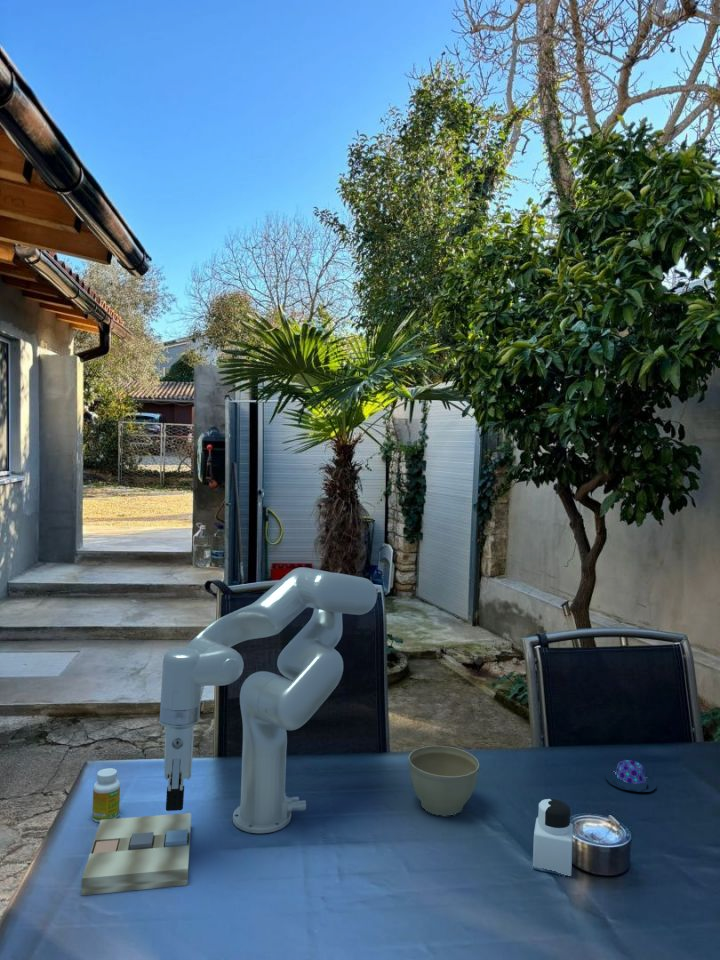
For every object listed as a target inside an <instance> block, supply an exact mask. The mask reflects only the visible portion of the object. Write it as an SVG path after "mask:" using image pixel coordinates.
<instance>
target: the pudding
mask: <svg viewBox="0 0 720 960" xmlns="http://www.w3.org/2000/svg"><path fill="white" fill-rule="evenodd" d="M615 771H616V772H615ZM615 771H614V772H615V775H617V778H618V779H620V780H623V781H624V782H626V783H633V784H640V783H645V782H646V778H647V776H646V773H645V768H644V766H643V764H640V763H639V762H638V761H633V760H631V759H627V760H626V759H623V760H621V761H619V762H618V764H617V766H616V769H615Z"/></svg>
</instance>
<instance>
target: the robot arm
mask: <svg viewBox="0 0 720 960" xmlns="http://www.w3.org/2000/svg"><path fill="white" fill-rule="evenodd" d="M377 598H378V593H377V588H376V586H375V585H374V583H373V582H372V581H371V580H370V579H368V578H366V577H361V576H356V575H351V574H345V573H340V572H330V571H327V570H326V571H325V570H321V569H315V568H310V567H303V566H302V567H297V568H294V569H292V570H291V571H289V572H288V573H286V574H285V576H283V577H282V578H281V579H280V580H279V581H278V582H277V583H275V584H274V585H273V586H272V587H271V588H269V589H268V590H267V591H266V592H264V593H263V594H262V595H261V596H260V597H259V598H258V599H256V600H255V601H254V602H253V603H251V604H249V605H246V606H244V607H241V608H239V609H237V610H234V611H232V612H230V613H228V614H225V615H224V616H222V617H220V618H218V619H216V620H214V621H213V622H211V623H210V624H209V625H208V626H207V627H205V628H204V629H203V630H202V631H200V632H199V633H198V634H197V635H196V636H194V638H193V639H192V640H191V641H190V642H189V644H188V645H187V646H186V647H177V648H173V649H170V650H168V651H166V653H165V654H164V655H163V659H162V671H161V673H162V675H161V676H162V677H161V691H160V692H161V693H160V706H159V707H160V708H159V724H160V725H161V726H162V727H165V731H164V732H165V733H164V735H165V736H164V755H163V756H164V757H163V758H164V759H163V760H164V762H163V763H164V766H163V767H164V779H165V780H166V781H168V782H167V783H168V784H167V787H166V797H165V798H166V799H165V800H166V801H165V810H166V811H167V812H172V811H174V812H175V811H182V810H183V809H184V801H185V800H184V798H185V795H184V794H185V785H184V779H187V780H188V781H189V780H190V779H191V778H192V770H193V769H192V768H193V754H194V738H195V737H194V735H195V734H194V732H195V730H194V729H195V725H197V724H199V723H200V715H201V713H200V711H201V699H202V697H201V695H202V687H207V686H209V687H210V686H211V687H214V686H215V687H217V686H219V687H220V686H227V685H230V684H233V683H235V682H236V681H237V680H238V679H239V678H240V677H241V675H242V674H243V670H244V666H245V665H244V659H243V656H242V655H241V654H240V653H239V652H238V651H237V650H236V649H234V648H232V647H234V646H235V645H237V644H239V643H243V642H245V641H250V640H254V639H261V638H262V639H263V638H267V637H272V636H275V635H278V634H279V633H281V632H282V631H283V630H284V629H285V628H286V627H287V626H288V625H290V623H292V621H294V619H296V617H297V616H299V615H300V614H301V613H302V612H303V611H304V610H305V609H307V608H311V609H313V611H312V612H313V613H312V614H311V615H312V616H311V618H310V620H309V621H308V622H307V623H306V624H305V625H304V626H303V628H301V630H300V631H299V632H298V633H297V634H296V635H294V637H293V638H292V639H291V640H290V641H289V642H288V644H287V645H286V646H285V647H284V648H283V649H282V650H281V652H280V654H279V655H278V657H277V662H276V663H277V664H276V665H277V669H278V670H279V672H280V673H281V675H283V676H281V675H279V674H277V673H273V672H270V671H264V670H263V671H262V670H261V671H256V672H253V673H252V674H250V675H249V676H248V677H247V678H245V680H244V681H243V683H242V685H241V688H240V692H239V705H240V713H241V720H242V753H241V780H240V781H241V783H240V784H241V785H240V804H239V806H237V808H236V809H235V810H234V811H233V814H232V823H233V824H234V826H235V827H236V828H238V829H239V830H241V831H243V832H246V833H251V834H268V833H269V834H271V833H273V832H278V831H279V830H281V829H283V828H285V827H286V826H288V824H289V823H290V822H291V820H292V812H293V811H298V812H300V811H301V812H302V811H306V809H307V802H306V800H300V797H299V796H292V797H289V795H288V796H287V794H286V773H287V772H286V770H287V769H286V768H287V767H286V766H287V745H288V735H287V734H288V733H287V731H295V730H297V729H300V728H302V727H303V726H304V725H305V724H306V723H307V722H308V721H309V720H310V719H311V718H312V716H313V715H314V714H315V713H316V712H317V711H318V710H319V708H320V707H321V706H322V705H323V704H324V702H326V700H327V699H328V698H329V696H331V694H332V692H334V690H335V689H336V687H337V686H338V685H339V683H340V682H341V679H342V676H343V674H344V673H343V672H344V660H343V657H342V655H341V654H340V652H339V651H337V650H336V649H335V647H337V645H338V643H339V641H340V640H341V638H342V636H343V614H348V615H357V616H360V615H361V616H362V615H365V614H367V613H369V612H370V611H371V610H372V609H373V608H374V606H375V604H376V603H377Z"/></svg>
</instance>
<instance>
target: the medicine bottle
mask: <svg viewBox="0 0 720 960" xmlns="http://www.w3.org/2000/svg"><path fill="white" fill-rule="evenodd" d="M537 814H538V815H537V817H535V825H534V831H533V844H532V845H533V846H532V847H533V849H532V850H533V851H532V853H533V854H532V867H533V866H534V867H538V868H544V869H547V870H552V871H556V872H558V873H561V874H564V875H568V876H571V877H572V866H573V865H572V864H573V840H572V839H574V838H573V837H574V836H573V833H574V825H573V823H571V808H570V807H569V805H568V804H567V803H565V801H562V800H559V799H556V798H555V799H554V798H547V799H546V798H545V799H542V800H541V801H540V802H539V803H538V813H537Z"/></svg>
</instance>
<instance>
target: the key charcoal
mask: <svg viewBox="0 0 720 960" xmlns="http://www.w3.org/2000/svg"><path fill="white" fill-rule="evenodd" d="M153 835H154V832H149V833H137V834H132V837H131V842H130V850H138V849H150V848H152V845H153Z"/></svg>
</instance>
